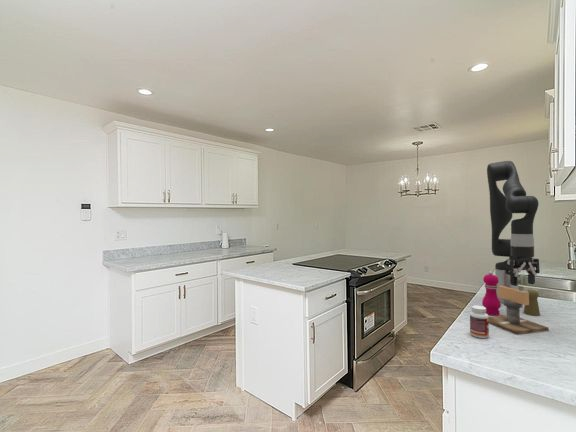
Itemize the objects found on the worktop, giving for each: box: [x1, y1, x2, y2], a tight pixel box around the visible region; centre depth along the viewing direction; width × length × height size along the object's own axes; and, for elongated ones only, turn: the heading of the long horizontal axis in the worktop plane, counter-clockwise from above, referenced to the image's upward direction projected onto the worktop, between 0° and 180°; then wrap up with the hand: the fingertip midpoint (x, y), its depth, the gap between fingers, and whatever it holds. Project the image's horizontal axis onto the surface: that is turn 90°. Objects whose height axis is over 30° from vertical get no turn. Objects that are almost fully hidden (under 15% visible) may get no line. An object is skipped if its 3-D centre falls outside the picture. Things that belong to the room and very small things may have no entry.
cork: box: [523, 289, 541, 317], centre depth 138 cm, size 6×6×11 cm
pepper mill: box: [481, 270, 502, 316], centre depth 140 cm, size 7×7×20 cm
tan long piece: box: [498, 286, 529, 309], centre depth 125 cm, size 6×12×8 cm, turn 12°
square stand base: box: [488, 306, 549, 336], centre depth 125 cm, size 16×16×8 cm
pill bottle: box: [469, 305, 490, 339], centre depth 115 cm, size 6×6×11 cm
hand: (522, 284), depth 120 cm, fingers open, 8 cm apart
